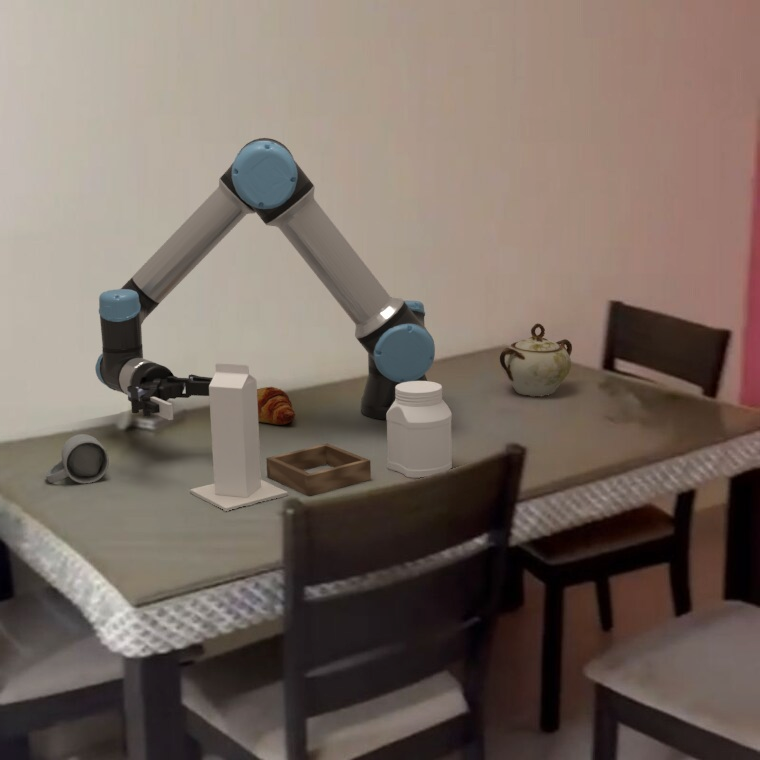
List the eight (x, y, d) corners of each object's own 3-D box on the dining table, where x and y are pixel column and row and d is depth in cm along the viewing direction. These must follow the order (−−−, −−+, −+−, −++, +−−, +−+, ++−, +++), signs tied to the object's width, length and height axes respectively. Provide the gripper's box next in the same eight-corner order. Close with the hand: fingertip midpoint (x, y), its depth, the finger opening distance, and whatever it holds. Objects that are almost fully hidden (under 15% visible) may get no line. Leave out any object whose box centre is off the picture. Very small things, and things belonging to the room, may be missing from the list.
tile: (250, 477, 219) (250, 474, 219) (288, 495, 210) (287, 492, 210) (190, 492, 212) (189, 489, 212) (226, 511, 203) (225, 508, 203)
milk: (229, 483, 215) (223, 358, 210) (262, 486, 213) (256, 360, 208) (214, 495, 209) (207, 367, 204) (247, 498, 207) (240, 369, 202)
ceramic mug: (102, 467, 227) (98, 426, 225) (111, 480, 220) (107, 438, 218) (43, 476, 223) (38, 435, 221) (49, 490, 216) (45, 447, 214)
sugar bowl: (548, 378, 283) (549, 313, 279) (593, 391, 271) (595, 323, 267) (478, 391, 273) (478, 324, 269) (522, 406, 261) (523, 336, 257)
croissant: (231, 424, 265) (213, 394, 261) (266, 395, 269) (249, 366, 265) (282, 445, 248) (263, 414, 244) (319, 414, 252) (301, 383, 248)
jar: (379, 465, 225) (377, 384, 221) (421, 455, 230) (420, 376, 226) (417, 481, 216) (416, 397, 212) (460, 470, 221) (460, 388, 217)
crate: (327, 461, 227) (327, 443, 226) (370, 479, 217) (370, 460, 216) (267, 476, 220) (266, 457, 219) (308, 496, 210) (308, 476, 209)
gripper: (207, 389, 240) (267, 412, 224) (87, 413, 225) (142, 439, 209) (205, 351, 238) (266, 372, 222) (83, 373, 224) (139, 396, 207)
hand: (206, 405), depth 216 cm, fingers open, 13 cm apart
